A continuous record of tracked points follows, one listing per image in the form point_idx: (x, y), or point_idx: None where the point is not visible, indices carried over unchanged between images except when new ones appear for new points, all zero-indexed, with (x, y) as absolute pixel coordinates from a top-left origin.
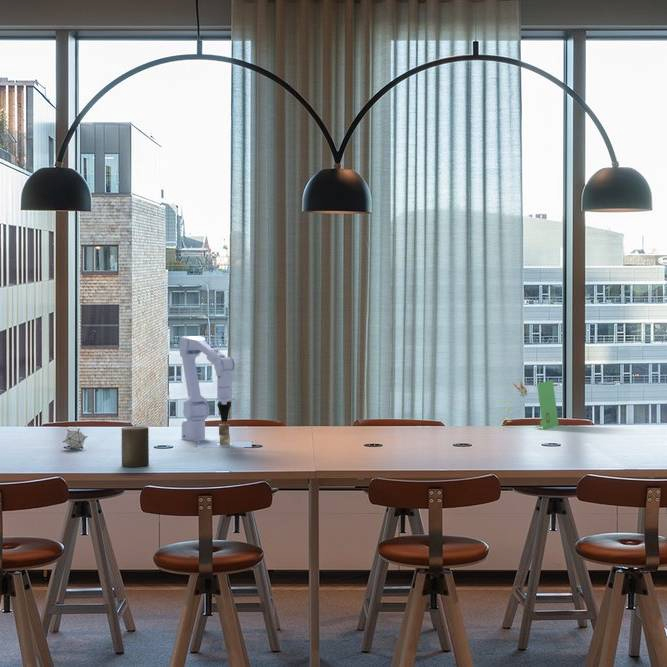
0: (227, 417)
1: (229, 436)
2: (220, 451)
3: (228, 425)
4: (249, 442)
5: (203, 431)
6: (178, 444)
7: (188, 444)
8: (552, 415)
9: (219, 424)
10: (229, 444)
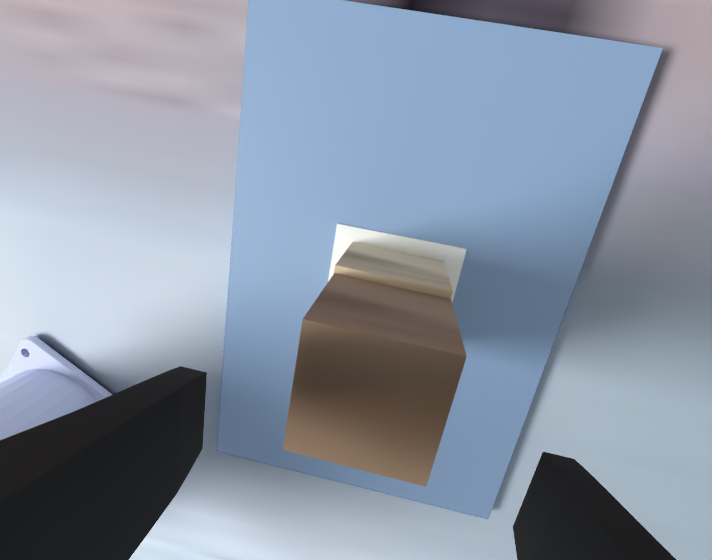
0: (642, 530)
1: (451, 287)
2: (705, 387)
3: (464, 361)
4: (304, 19)
5: (26, 427)
6: (234, 547)
7: (243, 500)
8: None
9: (325, 456)
10: (444, 263)
